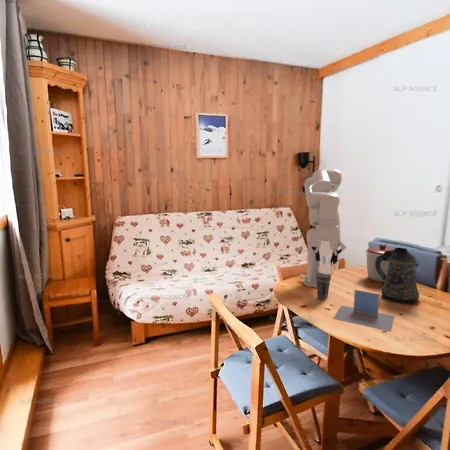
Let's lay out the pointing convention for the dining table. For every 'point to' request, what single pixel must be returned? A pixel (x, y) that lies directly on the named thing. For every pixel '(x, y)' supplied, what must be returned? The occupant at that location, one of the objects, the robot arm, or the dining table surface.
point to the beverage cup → (322, 285)
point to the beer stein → (398, 276)
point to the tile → (366, 302)
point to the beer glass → (325, 258)
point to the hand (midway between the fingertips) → (326, 261)
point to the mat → (365, 318)
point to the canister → (371, 258)
